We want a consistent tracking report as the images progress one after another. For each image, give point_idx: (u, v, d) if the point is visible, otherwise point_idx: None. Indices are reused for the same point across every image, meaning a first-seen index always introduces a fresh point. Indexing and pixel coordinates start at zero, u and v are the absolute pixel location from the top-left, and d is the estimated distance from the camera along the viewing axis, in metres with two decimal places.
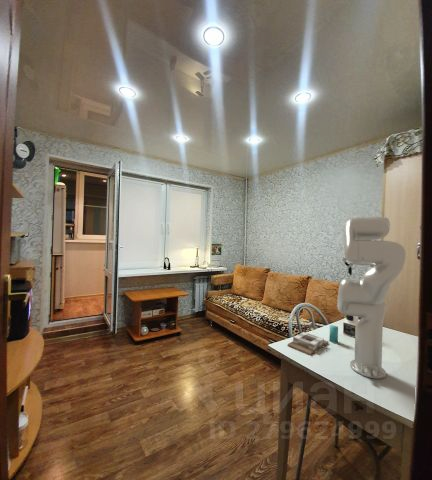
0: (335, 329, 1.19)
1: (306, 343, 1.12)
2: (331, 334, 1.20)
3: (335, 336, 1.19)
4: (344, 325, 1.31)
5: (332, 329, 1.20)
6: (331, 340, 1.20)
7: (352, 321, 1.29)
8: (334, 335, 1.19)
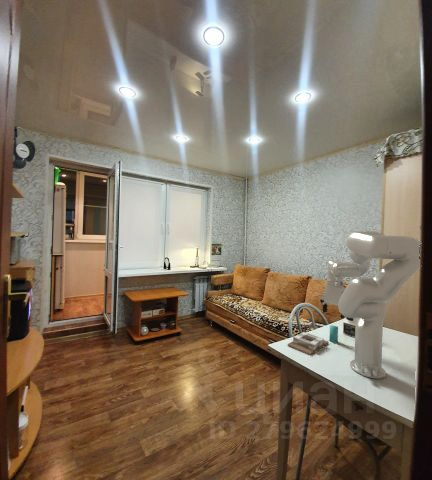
0: (335, 329, 1.19)
1: (306, 343, 1.12)
2: (331, 334, 1.20)
3: (335, 336, 1.19)
4: (344, 325, 1.31)
5: (332, 329, 1.20)
6: (331, 340, 1.20)
7: (352, 321, 1.29)
8: (334, 335, 1.19)
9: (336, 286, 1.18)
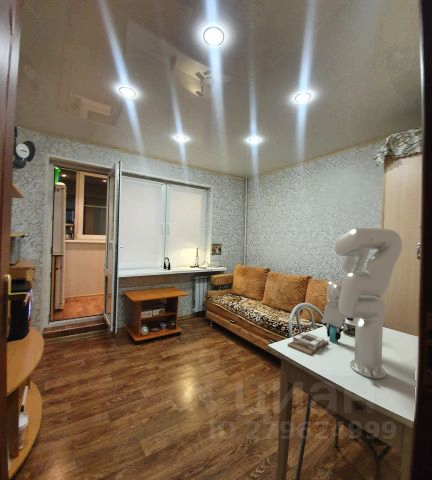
0: (335, 329, 1.19)
1: (306, 343, 1.12)
2: (331, 334, 1.20)
3: (335, 336, 1.19)
4: None
5: (332, 329, 1.20)
6: (331, 340, 1.20)
7: (352, 321, 1.29)
8: (334, 335, 1.19)
9: (336, 307, 1.18)
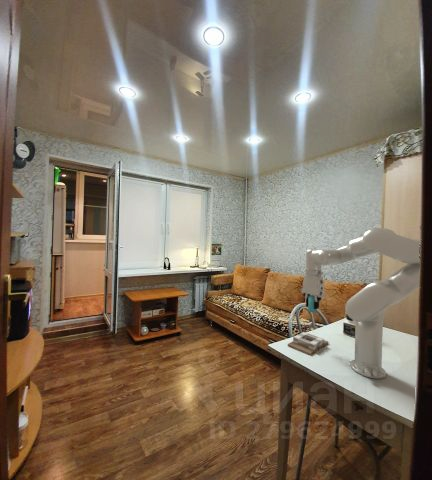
0: (313, 298, 1.16)
1: (306, 343, 1.12)
2: (309, 303, 1.17)
3: (313, 305, 1.16)
4: (344, 325, 1.31)
5: (310, 298, 1.16)
6: (309, 310, 1.17)
7: (352, 321, 1.29)
8: (313, 304, 1.16)
9: (314, 275, 1.14)
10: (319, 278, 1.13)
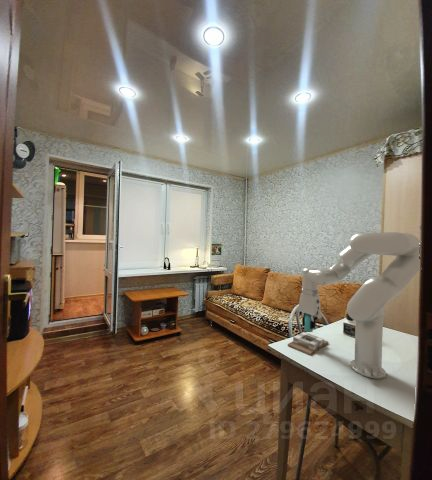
0: (310, 317, 1.15)
1: (306, 343, 1.12)
2: (306, 323, 1.16)
3: None
4: (344, 325, 1.31)
5: (307, 318, 1.16)
6: (306, 329, 1.16)
7: (352, 321, 1.29)
8: (309, 323, 1.15)
9: (310, 294, 1.13)
10: (316, 298, 1.13)
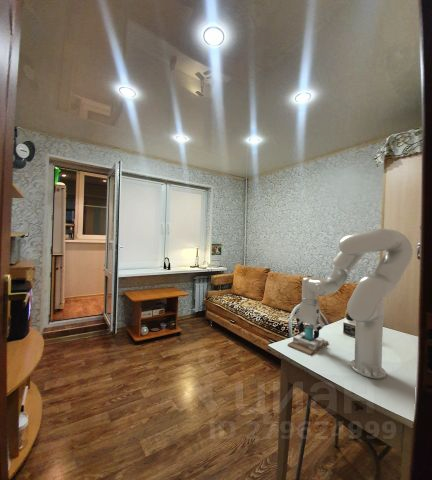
0: (310, 330, 1.15)
1: (306, 343, 1.12)
2: (306, 335, 1.16)
3: (310, 337, 1.15)
4: (344, 325, 1.31)
5: (307, 330, 1.15)
6: None
7: (352, 321, 1.29)
8: (309, 336, 1.15)
9: (310, 304, 1.13)
10: (315, 307, 1.13)
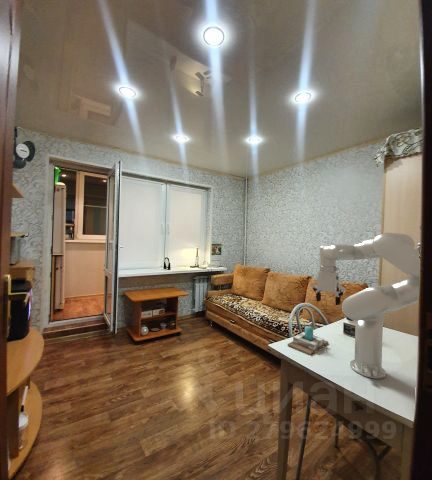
0: (310, 330, 1.15)
1: (306, 343, 1.12)
2: (306, 335, 1.16)
3: (310, 337, 1.15)
4: (344, 325, 1.31)
5: (307, 330, 1.15)
6: None
7: (352, 321, 1.29)
8: (309, 336, 1.15)
9: (329, 271, 1.11)
10: (335, 274, 1.11)
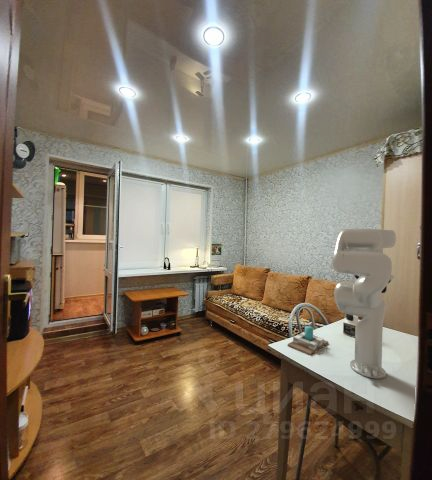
0: (310, 330, 1.15)
1: (306, 343, 1.12)
2: (306, 335, 1.16)
3: (310, 337, 1.15)
4: (344, 325, 1.31)
5: (307, 330, 1.15)
6: None
7: (352, 321, 1.29)
8: (309, 336, 1.15)
9: None
10: None
